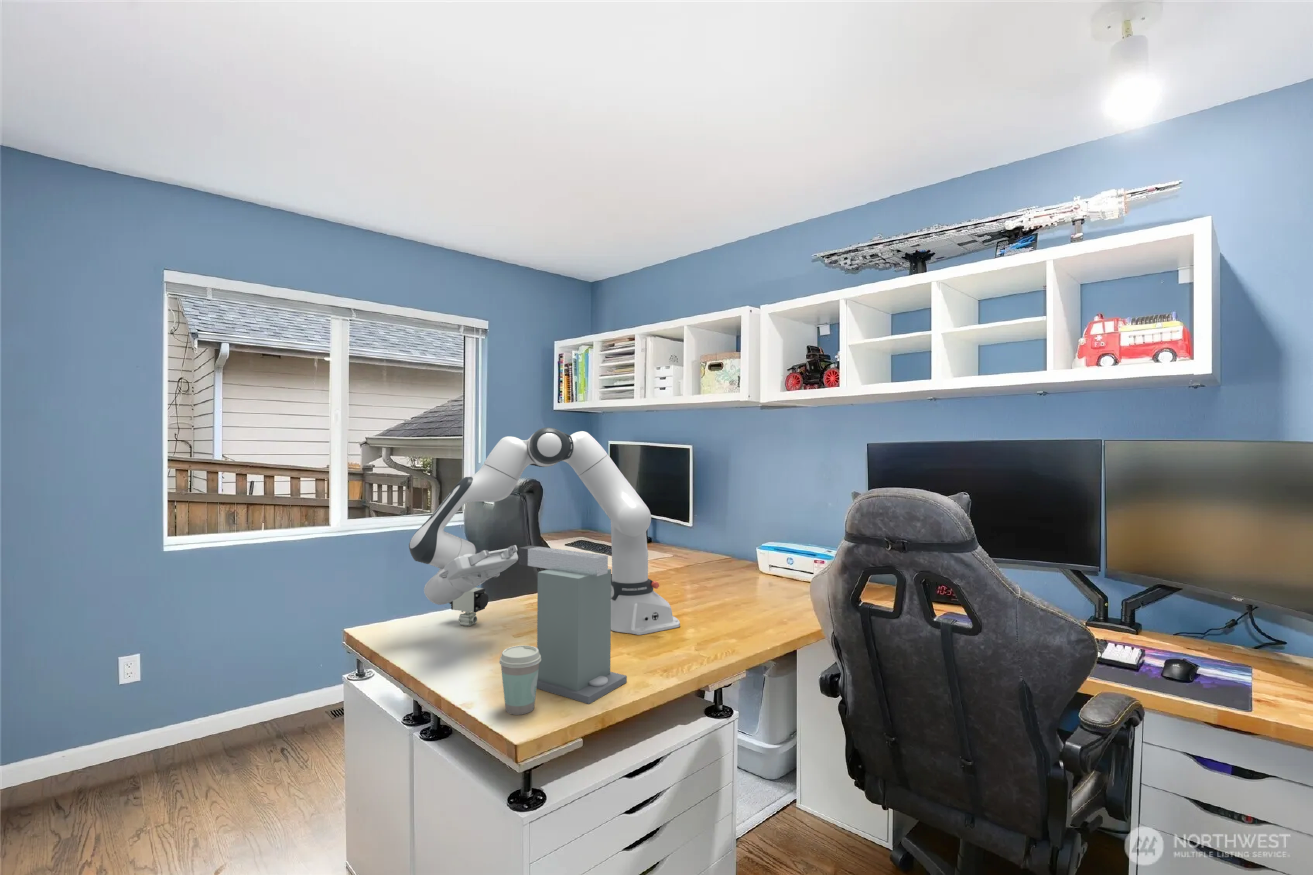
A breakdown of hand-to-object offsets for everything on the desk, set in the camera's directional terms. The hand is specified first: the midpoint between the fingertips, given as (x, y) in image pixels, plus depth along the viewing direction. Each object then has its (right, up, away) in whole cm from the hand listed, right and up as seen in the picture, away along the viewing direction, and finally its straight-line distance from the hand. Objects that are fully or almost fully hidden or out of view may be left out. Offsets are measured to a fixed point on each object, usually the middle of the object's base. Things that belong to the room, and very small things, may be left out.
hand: (501, 550), depth 153 cm
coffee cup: (+11, -28, -27) cm, 41 cm away
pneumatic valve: (-18, -29, +31) cm, 46 cm away
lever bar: (+17, -2, -11) cm, 20 cm away
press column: (+22, -28, -14) cm, 39 cm away
